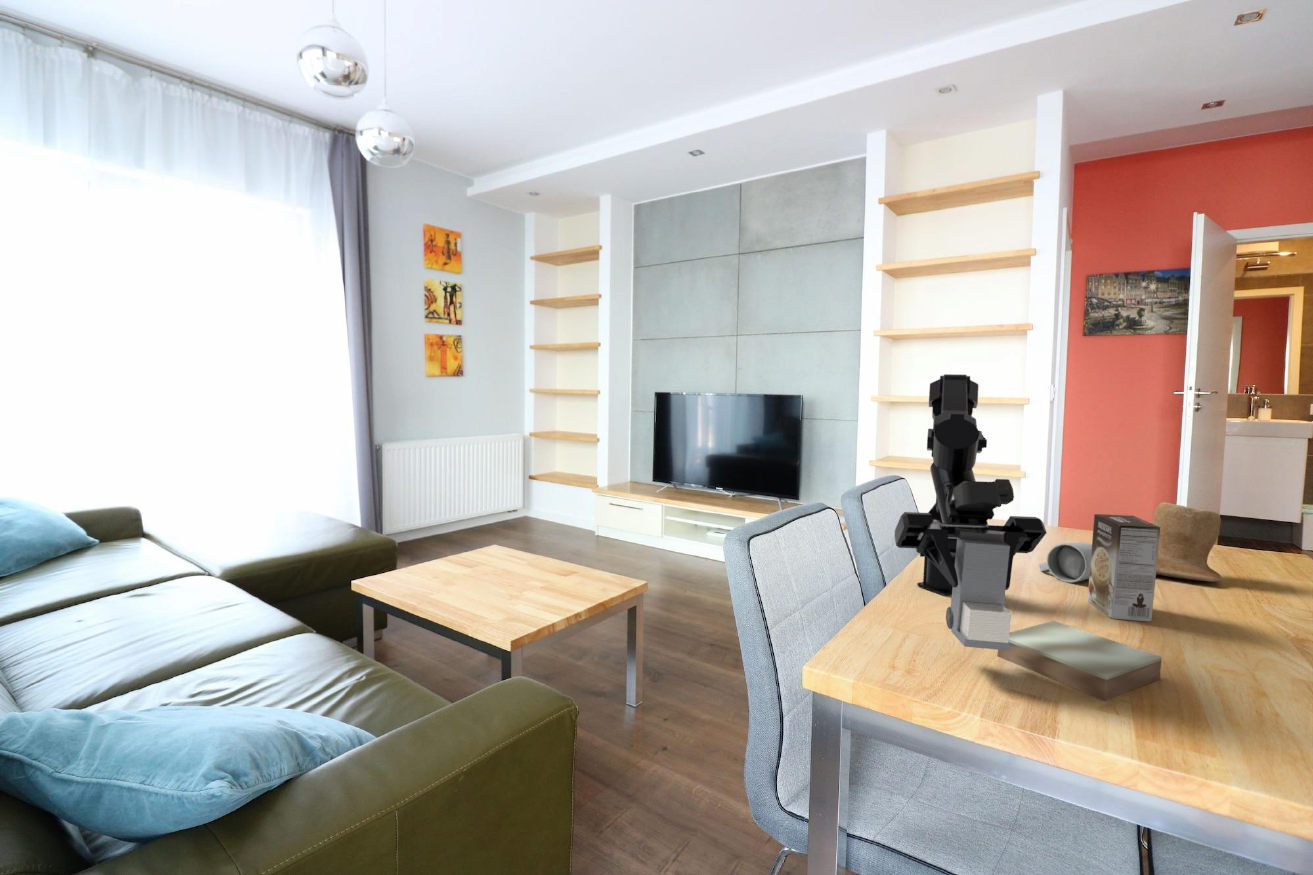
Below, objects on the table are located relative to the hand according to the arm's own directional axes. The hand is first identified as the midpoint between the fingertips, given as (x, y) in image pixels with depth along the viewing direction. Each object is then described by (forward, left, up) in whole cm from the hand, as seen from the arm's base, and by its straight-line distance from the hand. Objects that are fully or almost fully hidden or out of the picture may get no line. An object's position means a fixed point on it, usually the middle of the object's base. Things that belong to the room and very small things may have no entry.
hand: (981, 587), depth 84 cm
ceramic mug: (-19, +55, -12) cm, 60 cm away
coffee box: (-4, +43, -12) cm, 45 cm away
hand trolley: (-1, +1, -7) cm, 7 cm away
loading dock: (+5, +13, -11) cm, 19 cm away
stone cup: (-11, +77, -12) cm, 79 cm away
